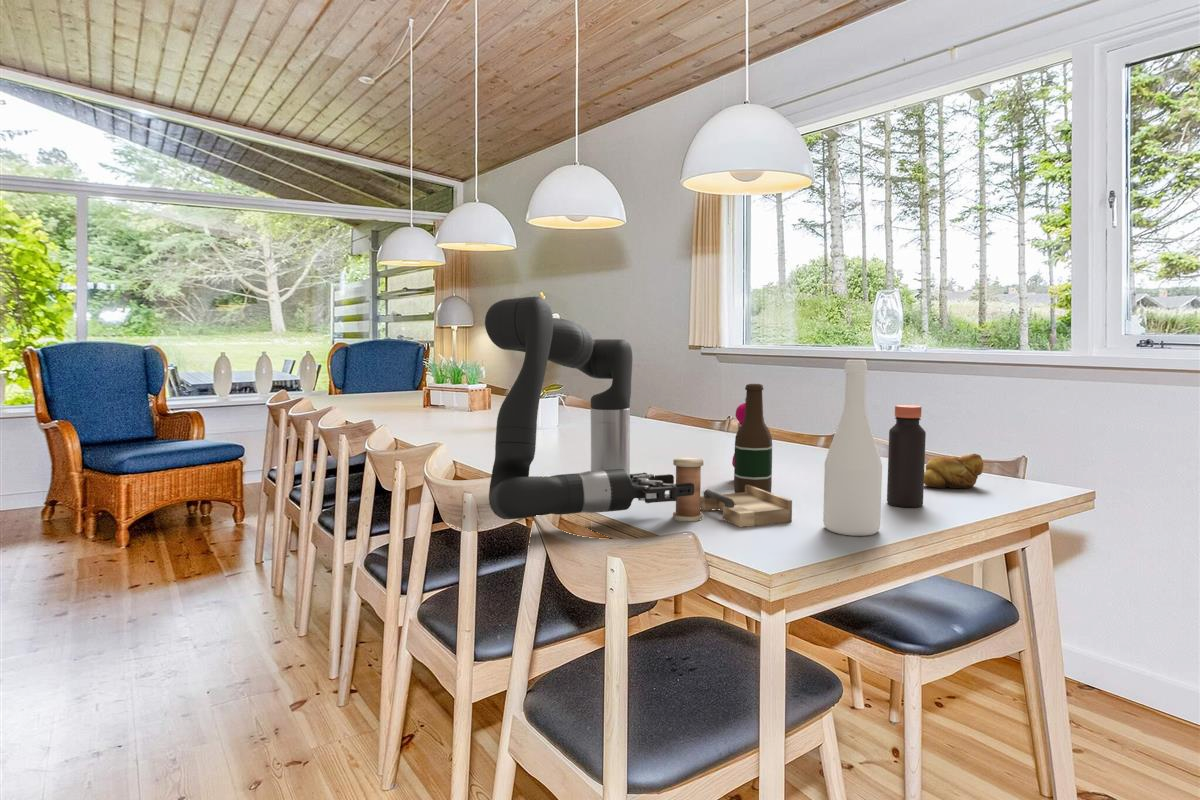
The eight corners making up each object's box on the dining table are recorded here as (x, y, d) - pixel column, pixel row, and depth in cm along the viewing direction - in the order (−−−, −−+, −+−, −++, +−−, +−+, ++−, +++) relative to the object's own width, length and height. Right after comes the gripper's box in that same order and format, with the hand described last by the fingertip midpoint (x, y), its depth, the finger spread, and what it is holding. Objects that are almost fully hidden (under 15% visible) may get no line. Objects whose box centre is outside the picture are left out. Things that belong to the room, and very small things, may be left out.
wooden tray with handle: (699, 508, 146) (700, 488, 145) (748, 504, 150) (748, 484, 149) (739, 527, 132) (740, 505, 131) (791, 521, 136) (792, 500, 135)
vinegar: (922, 509, 145) (926, 408, 143) (885, 506, 147) (889, 407, 146) (923, 502, 151) (926, 405, 149) (887, 499, 154) (891, 404, 152)
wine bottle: (869, 523, 135) (874, 359, 132) (887, 537, 125) (893, 361, 122) (817, 522, 135) (821, 359, 132) (831, 537, 125) (836, 361, 123)
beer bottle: (754, 502, 151) (755, 386, 149) (726, 495, 157) (727, 383, 155) (779, 497, 156) (781, 384, 153) (751, 491, 162) (753, 382, 160)
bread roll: (930, 491, 162) (932, 455, 161) (909, 482, 171) (911, 448, 171) (987, 490, 162) (989, 454, 162) (963, 481, 172) (965, 447, 171)
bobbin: (668, 515, 140) (668, 458, 139) (694, 513, 142) (694, 456, 141) (681, 522, 135) (681, 463, 134) (708, 520, 137) (708, 461, 136)
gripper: (616, 477, 125) (701, 471, 131) (588, 463, 139) (666, 458, 144) (616, 520, 126) (700, 512, 132) (588, 502, 139) (666, 496, 145)
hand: (682, 484), depth 138 cm, fingers open, 8 cm apart
